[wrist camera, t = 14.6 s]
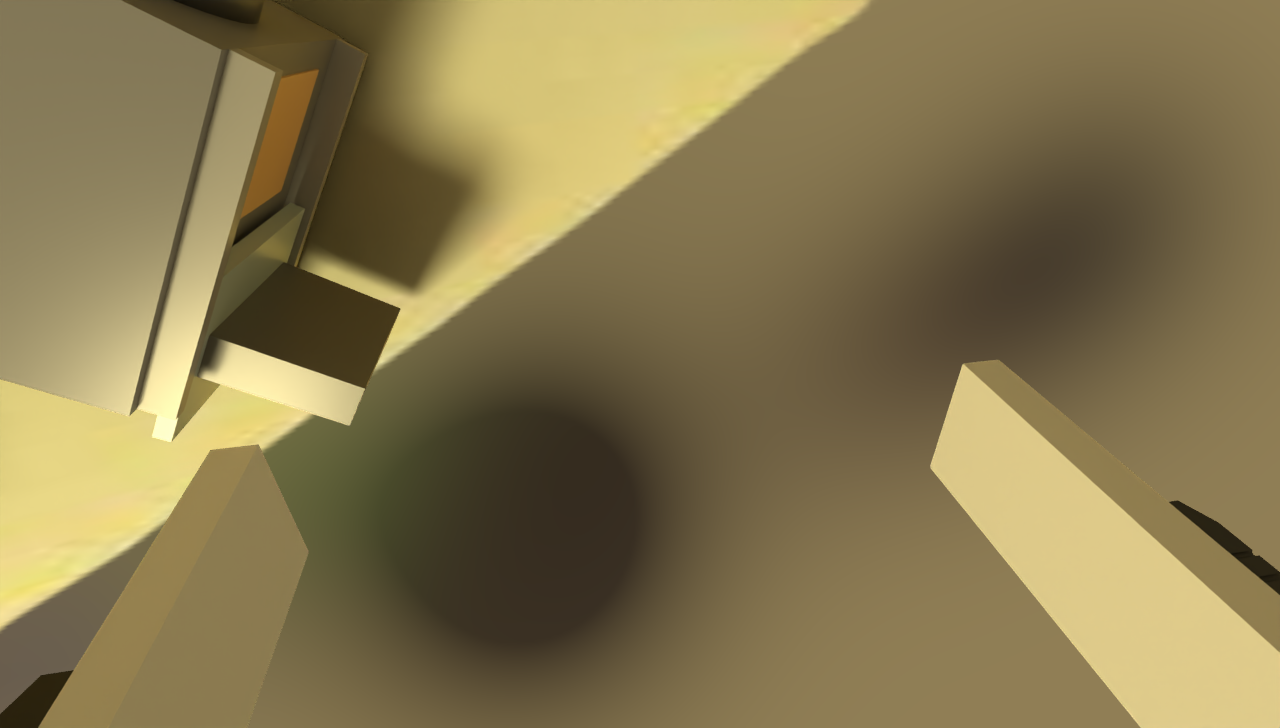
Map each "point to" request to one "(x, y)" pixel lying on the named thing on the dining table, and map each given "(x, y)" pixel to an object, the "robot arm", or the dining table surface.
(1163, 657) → the robot arm
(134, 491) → the dining table surface
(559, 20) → the dining table surface
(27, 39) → the camera box
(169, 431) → the door
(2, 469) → the dining table surface
